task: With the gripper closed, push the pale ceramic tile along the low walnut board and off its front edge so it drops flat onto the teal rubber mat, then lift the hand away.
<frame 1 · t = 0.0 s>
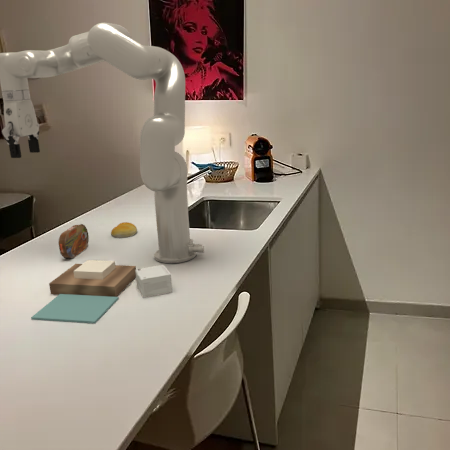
hand: (25, 154, 156), 31 cm above the kitchen counter, tool pointing down, fingers open, 9 cm apart
tile: (95, 272, 137), point 3 cm above the kitchen counter, touching board
bread roll: (124, 235, 179), on the kitchen counter
tin: (75, 253, 162), on the kitchen counter
board: (95, 284, 137), on the kitchen counter
mat: (76, 308, 123), on the kitchen counter
small box: (154, 290, 132), on the kitchen counter
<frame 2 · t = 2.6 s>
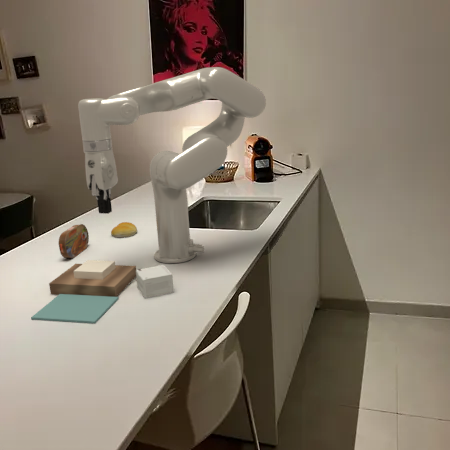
hand: (105, 212, 142), 17 cm above the kitchen counter, tool pointing down, fingers closed
nothing on the kitchen counter moved.
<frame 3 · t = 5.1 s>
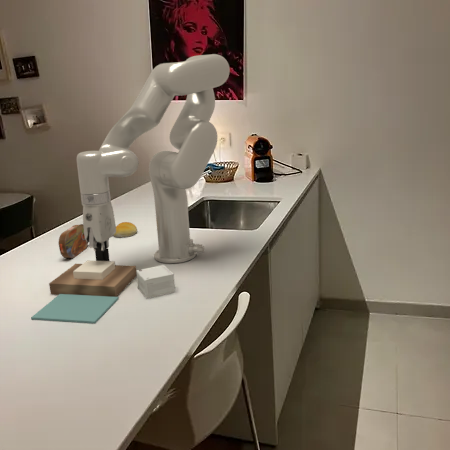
hand: (103, 262, 142), 4 cm above the kitchen counter, tool pointing down, fingers closed
tile: (95, 273, 137), point 3 cm above the kitchen counter, touching gripper
everything else where it was.
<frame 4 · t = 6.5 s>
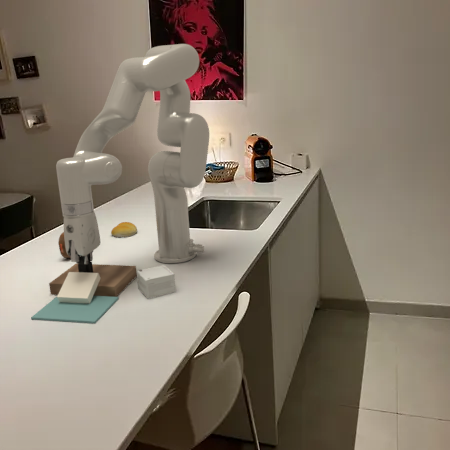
hand: (86, 276, 132), 4 cm above the kitchen counter, tool pointing down, fingers closed
tile: (80, 289, 128), point 2 cm above the kitchen counter, tilted 27°, touching gripper
everything else where it was.
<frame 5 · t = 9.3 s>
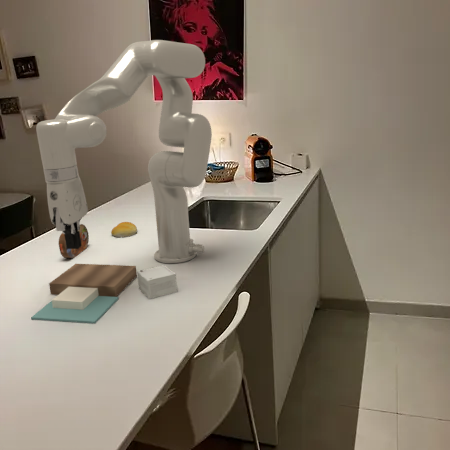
hand: (74, 247, 125), 13 cm above the kitchen counter, tool pointing down, fingers closed
tile: (76, 301, 126), resting on mat
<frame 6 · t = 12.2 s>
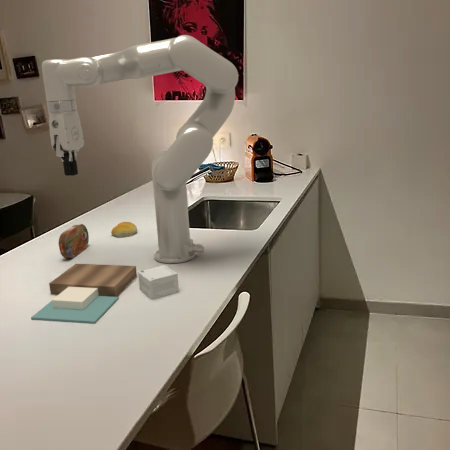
hand: (71, 174, 143), 27 cm above the kitchen counter, tool pointing down, fingers closed
at the end: tile inside the target area (3.6 cm from its centre), point 0.5 cm above the kitchen counter; tile touching mat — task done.
